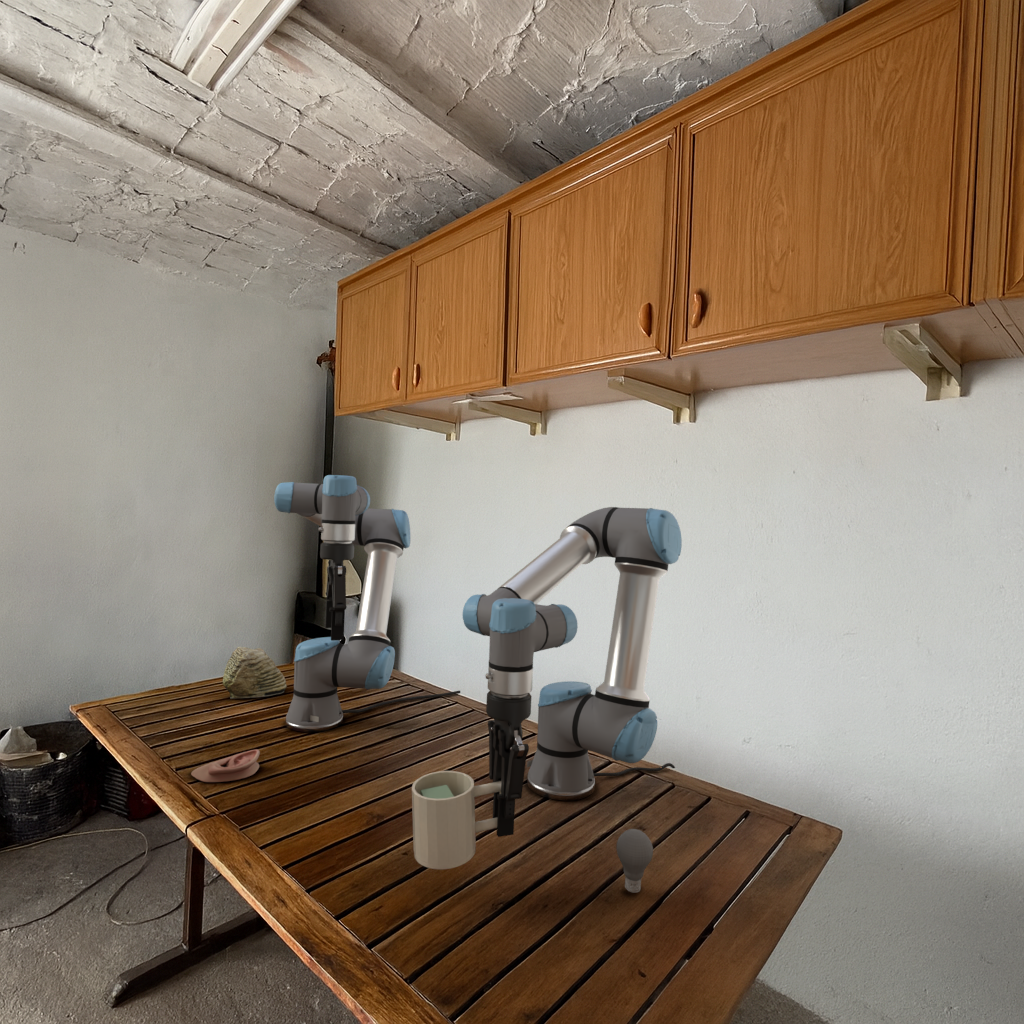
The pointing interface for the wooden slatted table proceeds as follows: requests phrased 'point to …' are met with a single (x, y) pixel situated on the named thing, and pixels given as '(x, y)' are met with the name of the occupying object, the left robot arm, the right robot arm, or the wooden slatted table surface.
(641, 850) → the light bulb
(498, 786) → the mug
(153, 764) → the wooden slatted table surface
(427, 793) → the block
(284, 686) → the fossil
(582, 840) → the wooden slatted table surface
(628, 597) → the right robot arm
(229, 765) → the anatomical model
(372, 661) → the left robot arm
